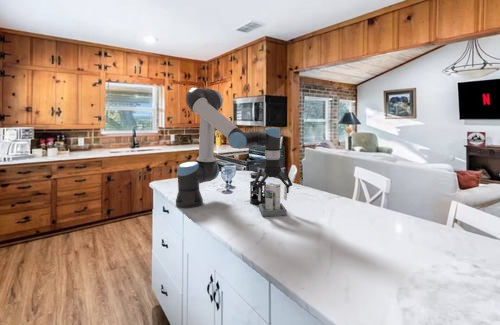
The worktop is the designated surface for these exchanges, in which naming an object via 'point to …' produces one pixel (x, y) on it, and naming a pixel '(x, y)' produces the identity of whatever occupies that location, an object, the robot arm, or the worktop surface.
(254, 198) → the french press
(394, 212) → the worktop surface
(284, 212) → the tray
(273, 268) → the worktop surface
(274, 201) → the syrup box
